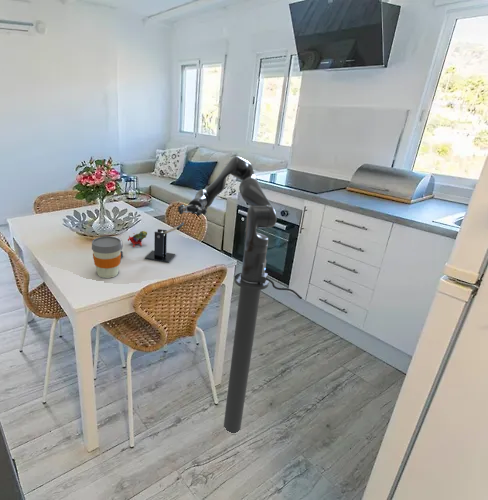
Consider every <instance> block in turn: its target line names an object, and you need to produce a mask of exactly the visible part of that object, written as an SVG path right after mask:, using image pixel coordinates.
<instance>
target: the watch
mask: <svg viewBox="0 0 488 500" xmlns="http://www.w3.org/2000/svg"><path fill="white" fill-rule="evenodd" d="M111 237H116V238H119V239H120V240H121V247H122V248H121V251H120V252H121V259H123V257H124V256H123V255H124V254H123V253H124V252H123V248H124V242H123V240H122V239H121V238H120V236H116V235H115V236H113V235H112V236H111Z"/></svg>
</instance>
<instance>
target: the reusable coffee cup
mask: <svg viewBox="0 0 488 500" xmlns="http://www.w3.org/2000/svg"><path fill="white" fill-rule="evenodd" d="M119 238H120V237H119ZM119 238H116V237H115V236H114V237H112V236H109V235H107V236H105V235H103V236H99V237H96V238H94V239H92V241H91V250H92V259H93V264H94V265H95V268H96V273H97V276H98V277H100V278H103V279H110V278H115V277H117V276H118V275H119V268H120V264H121V260H122V258H121V252H120V251H122V250H121V248H122V247H121V240H122V239H121V238H120V239H121V240H120V239H119ZM122 249H123V248H122Z"/></svg>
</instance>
